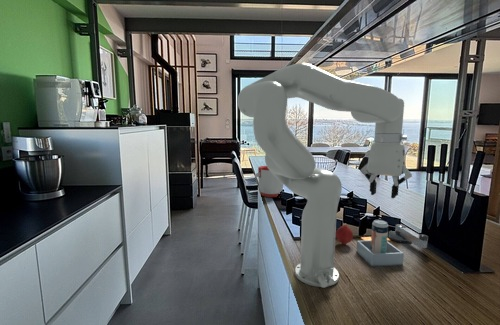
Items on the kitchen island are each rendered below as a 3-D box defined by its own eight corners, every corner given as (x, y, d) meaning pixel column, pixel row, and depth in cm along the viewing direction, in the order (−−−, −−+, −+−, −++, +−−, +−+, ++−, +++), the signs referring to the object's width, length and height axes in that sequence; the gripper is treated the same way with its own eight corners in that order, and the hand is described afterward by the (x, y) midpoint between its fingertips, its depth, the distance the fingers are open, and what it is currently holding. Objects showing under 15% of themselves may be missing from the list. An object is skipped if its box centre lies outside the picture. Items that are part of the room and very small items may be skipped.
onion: (341, 248, 100) (342, 227, 99) (332, 242, 106) (333, 221, 104) (355, 247, 102) (356, 225, 100) (346, 240, 107) (347, 220, 106)
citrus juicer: (252, 192, 177) (253, 161, 174) (279, 191, 180) (280, 160, 177) (258, 199, 161) (258, 165, 158) (287, 198, 164) (288, 164, 161)
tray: (402, 265, 89) (403, 253, 89) (372, 266, 88) (372, 254, 87) (384, 250, 99) (385, 239, 99) (356, 251, 98) (357, 240, 97)
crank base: (416, 242, 106) (417, 238, 105) (368, 244, 104) (368, 240, 103) (403, 233, 114) (403, 229, 113) (358, 235, 112) (358, 231, 111)
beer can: (372, 251, 97) (374, 218, 95) (387, 255, 94) (390, 221, 92) (368, 257, 93) (370, 222, 91) (383, 261, 90) (386, 225, 88)
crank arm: (393, 231, 110) (394, 221, 110) (401, 231, 111) (402, 221, 110) (420, 249, 96) (421, 237, 95) (430, 248, 96) (431, 237, 95)
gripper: (421, 139, 85) (415, 198, 88) (363, 137, 96) (359, 189, 99) (417, 141, 79) (411, 203, 82) (355, 138, 90) (352, 193, 93)
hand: (383, 195), depth 90 cm, fingers open, 5 cm apart
